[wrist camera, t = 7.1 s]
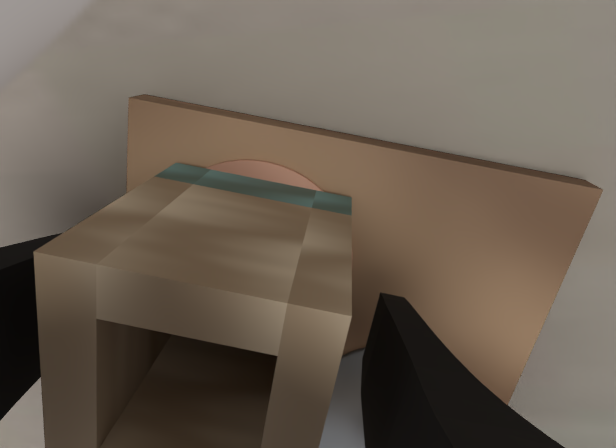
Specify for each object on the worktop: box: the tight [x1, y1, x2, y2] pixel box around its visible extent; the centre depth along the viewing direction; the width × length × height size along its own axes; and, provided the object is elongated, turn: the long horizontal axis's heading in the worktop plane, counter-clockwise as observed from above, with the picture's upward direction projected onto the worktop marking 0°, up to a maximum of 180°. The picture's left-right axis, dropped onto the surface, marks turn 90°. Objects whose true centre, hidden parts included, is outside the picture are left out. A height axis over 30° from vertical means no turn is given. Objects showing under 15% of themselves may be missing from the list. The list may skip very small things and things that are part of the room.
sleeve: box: [33, 163, 352, 448], centre depth 11 cm, size 5×5×6 cm
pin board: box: [126, 94, 603, 448], centre depth 13 cm, size 13×13×4 cm
